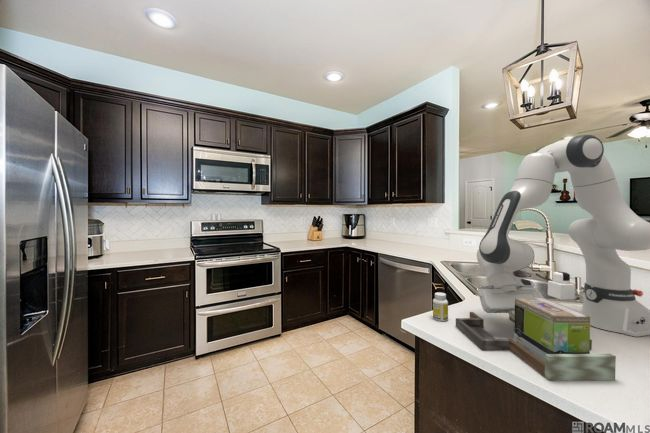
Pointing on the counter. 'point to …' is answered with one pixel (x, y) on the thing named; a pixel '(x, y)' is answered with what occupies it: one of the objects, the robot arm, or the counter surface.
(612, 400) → the counter surface
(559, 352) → the tea box
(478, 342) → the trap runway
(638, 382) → the counter surface
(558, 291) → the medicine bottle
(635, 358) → the counter surface
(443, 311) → the supplement bottle
